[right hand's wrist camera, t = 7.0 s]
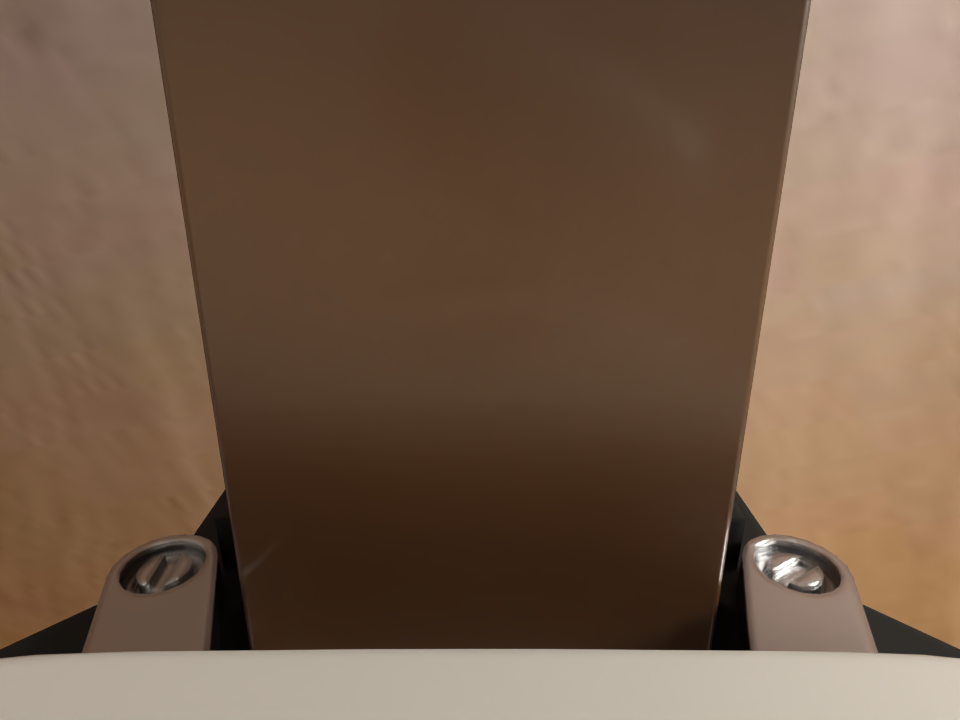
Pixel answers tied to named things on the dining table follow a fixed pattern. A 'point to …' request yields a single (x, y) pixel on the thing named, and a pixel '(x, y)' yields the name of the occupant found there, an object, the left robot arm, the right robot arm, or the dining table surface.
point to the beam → (480, 305)
